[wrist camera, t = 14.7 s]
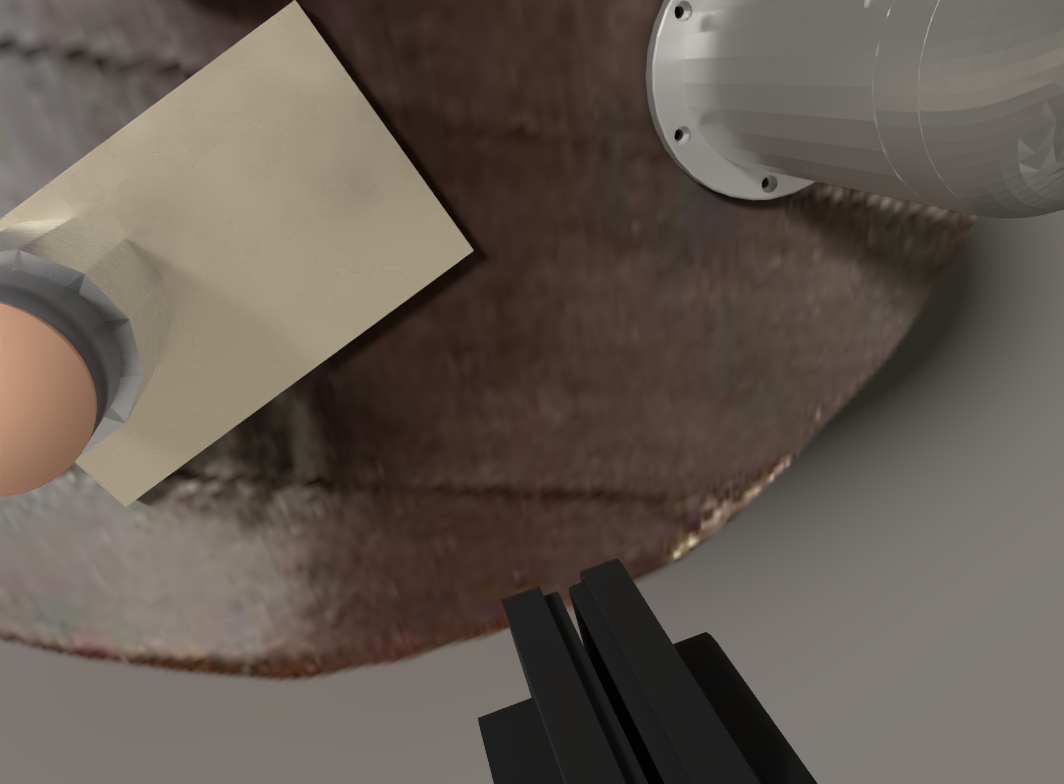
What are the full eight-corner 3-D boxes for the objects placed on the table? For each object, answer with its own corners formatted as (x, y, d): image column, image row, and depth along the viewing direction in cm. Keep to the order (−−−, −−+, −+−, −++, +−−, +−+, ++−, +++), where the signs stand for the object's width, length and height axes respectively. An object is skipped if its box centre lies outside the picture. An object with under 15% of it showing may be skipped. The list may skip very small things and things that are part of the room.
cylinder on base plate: (295, 1, 35) (290, -18, 27) (470, 246, 40) (504, 283, 33) (-97, 294, 35) (-205, 350, 28) (129, 497, 41) (89, 589, 33)
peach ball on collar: (42, 217, 31) (-28, 253, 24) (173, 351, 34) (141, 414, 27) (-101, 323, 31) (-207, 388, 25) (43, 448, 34) (-20, 534, 27)
